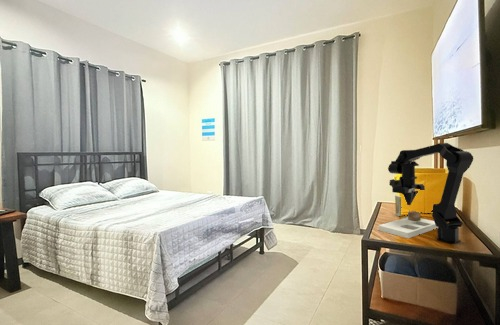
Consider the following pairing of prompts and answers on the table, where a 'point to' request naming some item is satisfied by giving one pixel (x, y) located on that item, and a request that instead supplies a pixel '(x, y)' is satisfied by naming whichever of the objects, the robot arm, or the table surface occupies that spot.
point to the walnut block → (414, 216)
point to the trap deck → (407, 227)
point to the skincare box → (398, 205)
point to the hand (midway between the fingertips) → (408, 205)
